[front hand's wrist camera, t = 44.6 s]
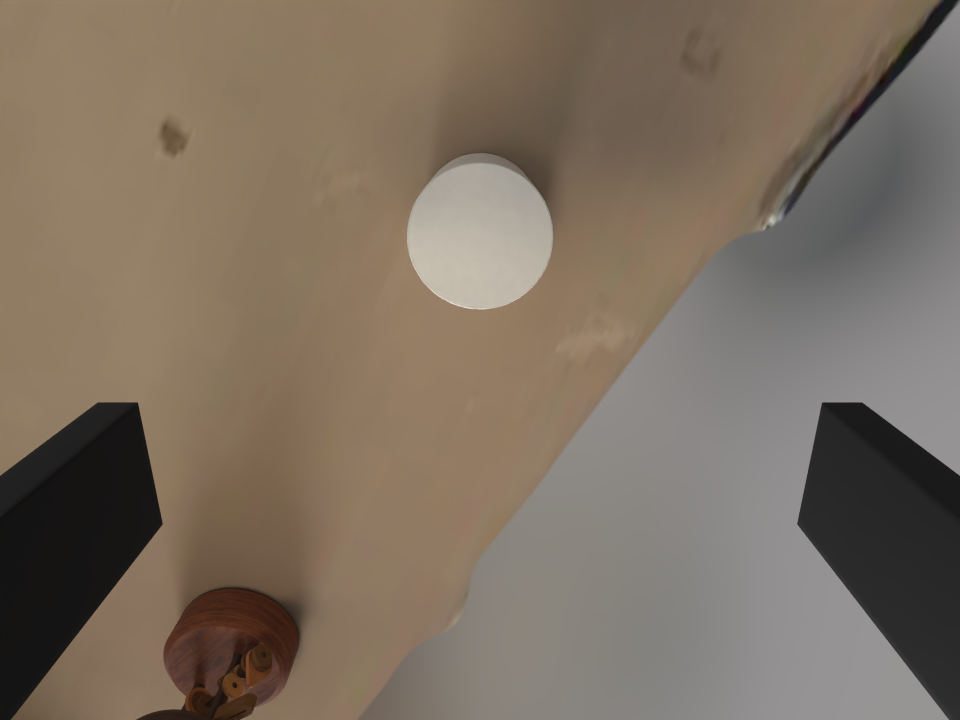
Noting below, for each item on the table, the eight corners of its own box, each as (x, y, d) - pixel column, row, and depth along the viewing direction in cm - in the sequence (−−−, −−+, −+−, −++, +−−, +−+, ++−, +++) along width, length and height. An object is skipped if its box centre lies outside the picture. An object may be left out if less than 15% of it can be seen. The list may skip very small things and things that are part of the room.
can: (406, 170, 43) (388, 184, 34) (524, 138, 43) (535, 144, 34) (439, 284, 46) (429, 324, 37) (550, 256, 45) (567, 290, 37)
